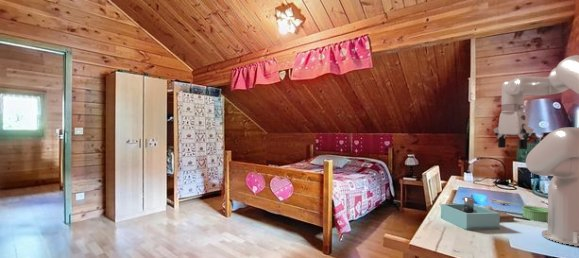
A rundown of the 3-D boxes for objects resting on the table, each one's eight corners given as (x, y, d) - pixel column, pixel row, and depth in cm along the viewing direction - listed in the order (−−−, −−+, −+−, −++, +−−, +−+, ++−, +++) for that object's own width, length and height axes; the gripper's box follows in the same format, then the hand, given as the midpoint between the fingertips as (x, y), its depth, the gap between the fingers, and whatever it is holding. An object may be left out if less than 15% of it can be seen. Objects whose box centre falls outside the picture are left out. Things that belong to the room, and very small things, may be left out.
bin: (499, 228, 104) (499, 213, 104) (466, 230, 102) (466, 214, 102) (470, 217, 118) (470, 203, 118) (440, 218, 116) (440, 204, 116)
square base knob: (476, 220, 110) (476, 197, 110) (475, 223, 106) (476, 200, 106) (462, 217, 113) (462, 195, 113) (460, 221, 109) (461, 198, 109)
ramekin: (517, 216, 120) (517, 207, 120) (529, 214, 123) (529, 205, 123) (542, 223, 112) (543, 212, 112) (554, 221, 115) (554, 210, 115)
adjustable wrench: (556, 212, 129) (556, 208, 129) (555, 215, 125) (555, 211, 125) (491, 201, 147) (491, 198, 147) (489, 203, 143) (489, 200, 143)
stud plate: (513, 220, 114) (513, 209, 114) (488, 221, 112) (488, 210, 112) (489, 212, 126) (489, 202, 126) (465, 212, 124) (465, 202, 124)
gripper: (540, 107, 110) (540, 149, 110) (501, 110, 127) (501, 147, 127) (524, 107, 109) (524, 149, 109) (487, 110, 126) (487, 146, 126)
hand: (511, 148), depth 118 cm, fingers open, 9 cm apart
